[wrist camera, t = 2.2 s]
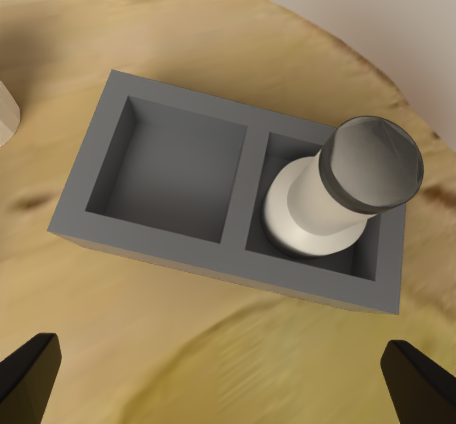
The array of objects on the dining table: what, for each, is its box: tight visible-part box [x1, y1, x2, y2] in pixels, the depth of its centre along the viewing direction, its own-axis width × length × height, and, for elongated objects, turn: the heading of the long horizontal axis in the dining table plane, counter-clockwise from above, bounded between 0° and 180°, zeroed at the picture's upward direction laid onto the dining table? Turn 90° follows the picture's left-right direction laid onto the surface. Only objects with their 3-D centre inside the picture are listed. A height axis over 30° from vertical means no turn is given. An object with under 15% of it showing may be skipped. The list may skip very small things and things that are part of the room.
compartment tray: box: [47, 70, 406, 315], centre depth 21 cm, size 20×11×6 cm, turn 77°
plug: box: [260, 116, 424, 260], centre depth 17 cm, size 6×6×9 cm
